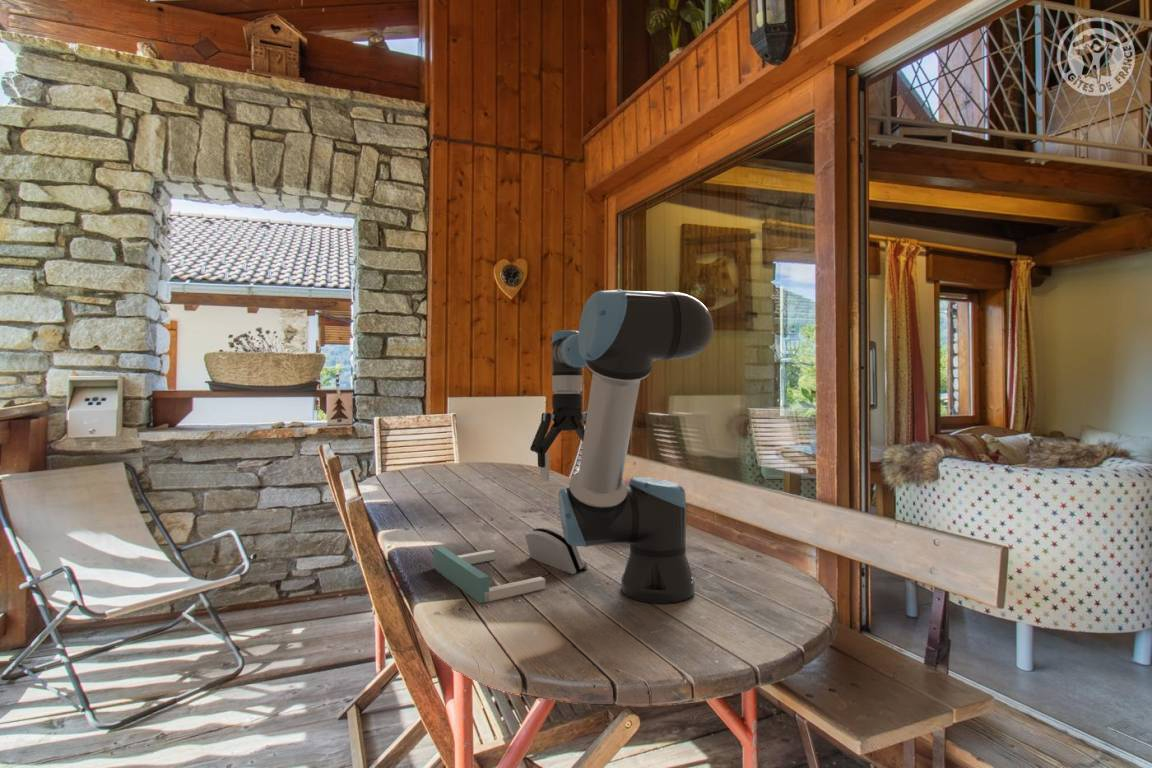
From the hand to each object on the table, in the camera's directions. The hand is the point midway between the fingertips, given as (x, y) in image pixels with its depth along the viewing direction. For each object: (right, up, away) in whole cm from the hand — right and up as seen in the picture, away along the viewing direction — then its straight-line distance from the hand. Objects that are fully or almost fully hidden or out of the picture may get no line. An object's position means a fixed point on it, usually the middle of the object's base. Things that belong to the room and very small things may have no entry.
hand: (567, 478), depth 149 cm
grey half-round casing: (-3, -20, -6) cm, 21 cm away
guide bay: (-17, -20, -15) cm, 30 cm away
